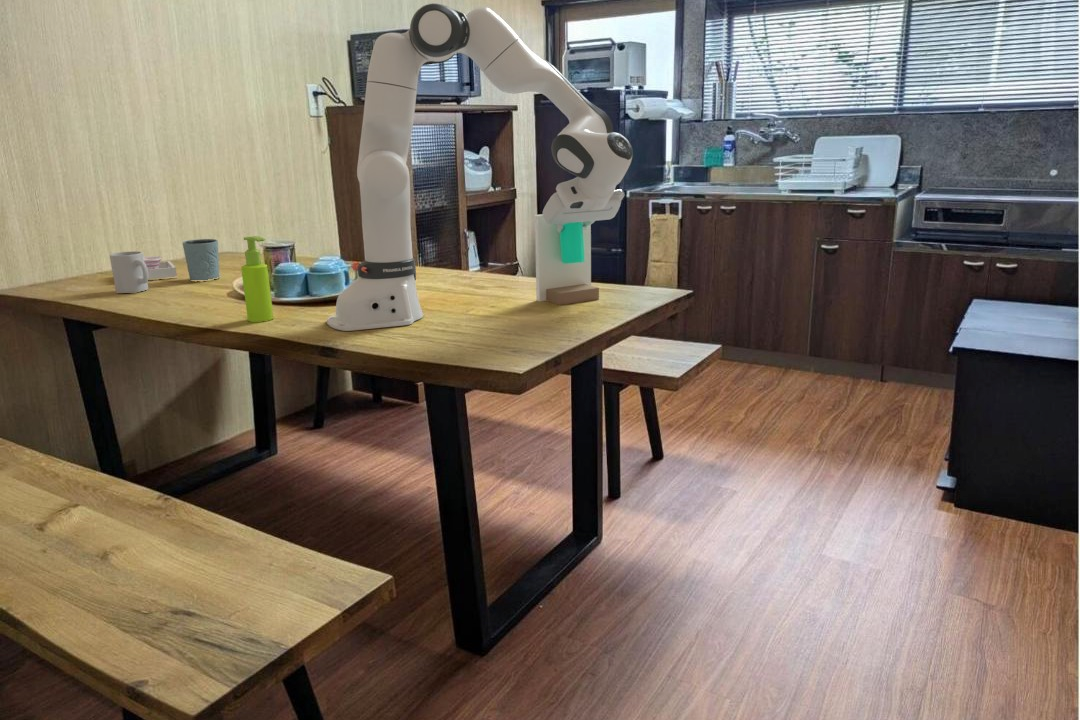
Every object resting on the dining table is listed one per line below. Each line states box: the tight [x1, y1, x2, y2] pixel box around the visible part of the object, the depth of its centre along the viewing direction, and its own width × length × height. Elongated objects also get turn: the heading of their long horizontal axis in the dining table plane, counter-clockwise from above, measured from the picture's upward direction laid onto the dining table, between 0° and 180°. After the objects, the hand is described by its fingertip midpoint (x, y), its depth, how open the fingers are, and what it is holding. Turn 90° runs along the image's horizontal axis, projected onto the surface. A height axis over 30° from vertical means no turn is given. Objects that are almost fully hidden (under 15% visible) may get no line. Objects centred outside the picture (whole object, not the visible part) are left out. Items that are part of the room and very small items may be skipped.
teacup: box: [143, 255, 162, 270], centre depth 248 cm, size 12×12×6 cm
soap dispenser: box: [240, 235, 274, 323], centre depth 186 cm, size 6×7×20 cm
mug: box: [109, 251, 149, 294], centre depth 225 cm, size 12×8×11 cm
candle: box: [560, 222, 585, 263], centre depth 199 cm, size 6×6×12 cm
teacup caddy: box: [148, 260, 178, 279], centre depth 248 cm, size 16×16×4 cm
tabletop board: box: [534, 213, 600, 306], centre depth 201 cm, size 16×8×22 cm, turn 121°
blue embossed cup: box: [182, 238, 221, 281], centre depth 241 cm, size 10×10×12 cm
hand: (570, 229), depth 199 cm, fingers closed on candle, 5 cm apart
